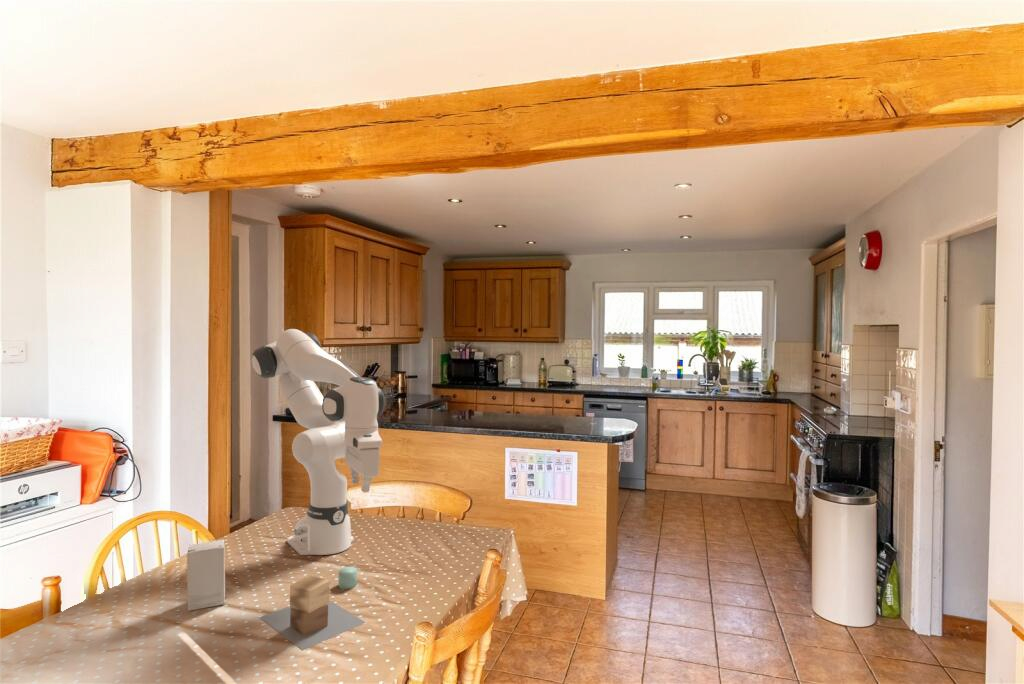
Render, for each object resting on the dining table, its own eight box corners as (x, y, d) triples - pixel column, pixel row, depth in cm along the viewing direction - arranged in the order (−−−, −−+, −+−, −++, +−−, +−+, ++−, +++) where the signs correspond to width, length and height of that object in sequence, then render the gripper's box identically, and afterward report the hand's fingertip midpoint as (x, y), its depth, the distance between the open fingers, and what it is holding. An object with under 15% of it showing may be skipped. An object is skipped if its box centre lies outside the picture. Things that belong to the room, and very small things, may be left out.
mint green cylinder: (334, 588, 149) (335, 570, 148) (350, 583, 152) (350, 565, 152) (344, 594, 145) (345, 575, 145) (360, 588, 149) (360, 570, 149)
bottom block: (290, 626, 127) (290, 604, 127) (314, 616, 132) (314, 595, 132) (303, 636, 123) (304, 613, 123) (327, 625, 128) (328, 604, 128)
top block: (289, 607, 126) (290, 585, 126) (309, 596, 131) (310, 575, 131) (309, 613, 123) (309, 591, 123) (328, 602, 129) (329, 580, 129)
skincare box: (225, 595, 143) (226, 538, 143) (224, 606, 138) (225, 546, 137) (187, 601, 139) (189, 542, 139) (185, 612, 134) (186, 551, 134)
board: (258, 621, 131) (259, 617, 131) (320, 598, 143) (320, 594, 143) (302, 654, 118) (302, 650, 118) (366, 626, 130) (366, 622, 130)
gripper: (339, 432, 158) (338, 480, 158) (360, 443, 141) (359, 498, 140) (361, 430, 161) (360, 478, 161) (384, 441, 144) (383, 495, 144)
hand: (360, 487), depth 151 cm, fingers open, 8 cm apart
